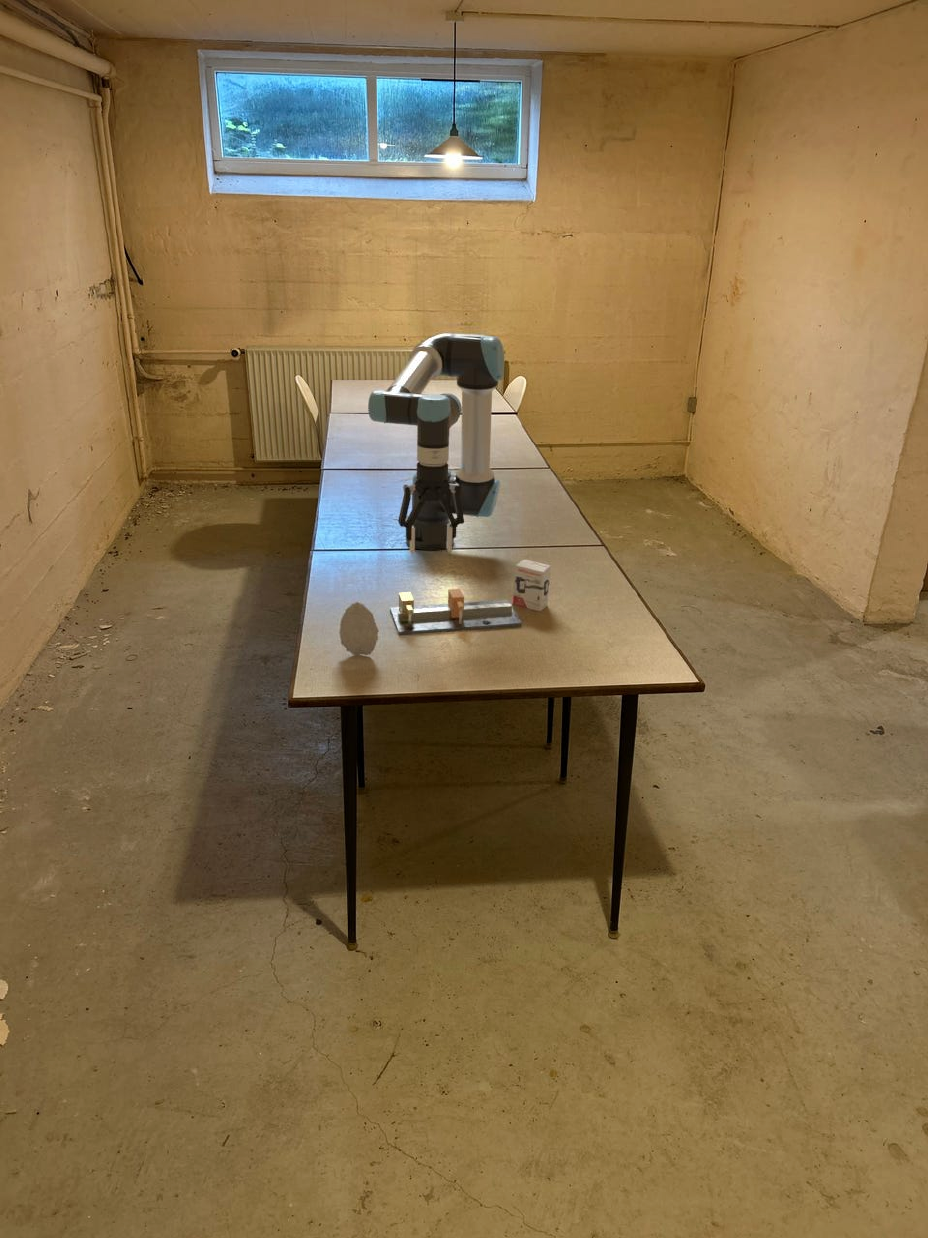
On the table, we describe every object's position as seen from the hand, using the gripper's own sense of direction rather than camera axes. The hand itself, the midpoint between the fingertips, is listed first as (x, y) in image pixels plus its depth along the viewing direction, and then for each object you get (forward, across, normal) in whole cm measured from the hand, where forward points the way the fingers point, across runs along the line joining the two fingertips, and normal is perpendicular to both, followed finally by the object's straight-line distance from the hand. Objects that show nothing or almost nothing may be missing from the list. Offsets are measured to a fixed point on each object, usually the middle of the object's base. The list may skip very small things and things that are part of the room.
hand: (430, 550), depth 211 cm
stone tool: (+20, -20, -16) cm, 32 cm away
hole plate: (+19, +7, 0) cm, 21 cm away
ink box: (+20, +29, +5) cm, 35 cm away
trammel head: (+18, +7, -2) cm, 19 cm away
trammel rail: (+18, +7, -2) cm, 20 cm away
